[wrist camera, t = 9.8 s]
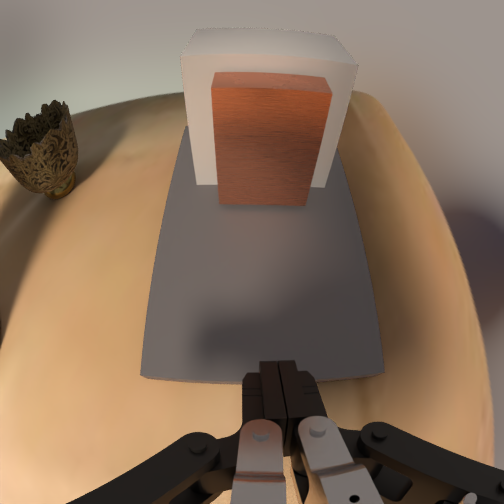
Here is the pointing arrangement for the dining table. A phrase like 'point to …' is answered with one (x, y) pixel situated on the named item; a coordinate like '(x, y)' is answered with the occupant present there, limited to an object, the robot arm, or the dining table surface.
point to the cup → (43, 151)
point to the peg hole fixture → (260, 240)
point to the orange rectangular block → (267, 135)
